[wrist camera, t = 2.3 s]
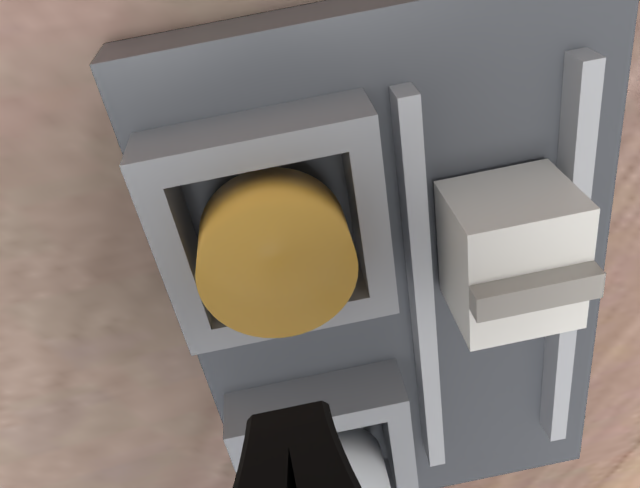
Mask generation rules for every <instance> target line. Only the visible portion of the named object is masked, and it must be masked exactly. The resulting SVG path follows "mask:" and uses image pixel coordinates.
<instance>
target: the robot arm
mask: <svg viewBox="0 0 640 488" xmlns="http://www.w3.org/2000/svg"><path fill="white" fill-rule="evenodd" d="M233 488H362V487H361V485H360V483H359V481H358V479H357V477H356V475H355V473H354V471H353V469H352V467H351V465H350V462H349V460H348V458H347V456H346V453H345V451H344V449H343V446H342V444H341V441H340V439H339V436H338V434H337V431H336V428H335V425H334V422H333V418H332V415H331V410H330V406H329V404H328V403H326V402H324V401H322V400H321V401H316V402H311V403H307V404H302V405H297V406H292V407H287V408H282V409H278V410H273V411H268V412H263V413H258V414H253V415H251V417H250V418H249V419H248V420H247V423H246V430H245V437H244V442H243V447H242V452H241V457H240V461H239V466H238V470H237V474H236V478H235V482H234V485H233Z"/></svg>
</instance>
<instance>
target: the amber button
mask: <svg viewBox="0 0 640 488" xmlns="http://www.w3.org/2000/svg"><path fill="white" fill-rule="evenodd" d="M357 278H358V259H357V254H356V251H355V247H354V244H353V241H352V238H351V235H350V232H349V228H348V225H347V222H346V219H345V216H344V213H343V210H342V207H341V205H340V203H339V201H338V200H337V198H336V196H335V195H334V194H333V193H332V191H331V190H330V189H329V188H328V187H327V186H326V185H325V184H323V183H322V182H321V181H319V180H318V179H316V178H315V177H313V176H311V175H309V174H306V173H304V172H301V171H298V170H294V169H289V168H281V167H271V168H266V169H261V170H256V171H250V172H245V173H243V174H240V175H238V176H236V177H234V178H232V179H231V180H229V181H228V182H226V183H225V184H224V185H222V186H221V187H220V188H219V189H218V190H217V191H216V192H215V193H214V194H213V195H212V197H211V198H210V199H209V201H208V202H207V204H206V206H205V208H204V210H203V213H202V215H201V219H200V224H199V235H198V247H197V259H196V271H195V279H196V286H197V290H198V293H199V296H200V298H201V300H202V302H203V304H204V305H205V307H206V308H207V309H208V311H209V312H210V313H211V314H212V315H213V316H214V317H215V318H216V319H217V320H218V321H220V322H221V323H223V324H224V325H226V326H227V327H229V328H231V329H233V330H235V331H238V332H240V333H243V334H246V335H250V336H254V337H261V338H285V337H291V336H296V335H300V334H303V333H306V332H309V331H311V330H314V329H316V328H318V327H320V326H321V325H323V324H325V323H326V322H328V321H329V320H330V319H332V318H333V317H334V316H335V315H337V314H338V313H339V312H340V311H341V310H342V308H343V307H344V306H345V305H346V303H347V302H348V300H349V299H350V297H351V295H352V293H353V291H354V289H355V286H356V282H357Z"/></svg>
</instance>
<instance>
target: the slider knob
mask: <svg viewBox="0 0 640 488" xmlns="http://www.w3.org/2000/svg"><path fill="white" fill-rule="evenodd" d="M434 197H435V214H436V231H437V248H438V265H439V282H440V290H441V292H442V294H443V296H444V298H445V300H446V302H447V304H448V307H449V309H450V311H451V313H452V315H453V317H454V319H455V321H456V323H457V325H458V327H459V329H460V331H461V333H462V335H463V338H464V340H465V342H466V344H467V346H468V348H469V350H470V352H472V351H477V350H481V349H486V348H491V347H496V346H501V345H506V344H511V343H515V342H520V341H525V340H530V339H535V338H540V337H545V336H549V335H554V334H559V333H564V332H569V331H574V330H579V329H583V328H586V326H587V318H588V309H589V301H590V300H593V299H598V298H603V293H604V285H605V278H606V273H605V272H604V271H603V270H602V268H601V267H600V266H599V265H598V264H597V263H596V262H595V261H594V258H595V250H596V241H597V233H598V224H599V216H600V208H599V207H598V206H597V205H596V204H595V203H594V202H593V201H592V200H591V199H590V198H589V197H588V196H586V195H585V194H584V193H583V192H582V191H581V190H580V189H579V188H578V187H577V186H576V185H575V184H574V183H573V182H572V181H571V180H570V179H569V178H568V177H567V176H566V175H564V174H563V173H562V172H561V171H560V170H559V169H558V168H557V167H556V166H555V165H554V164H553V163H552V162H551V161H550V160H549V159H548V158H547V159H542V160H537V161H532V162H527V163H522V164H517V165H512V166H507V167H502V168H497V169H492V170H487V171H482V172H477V173H472V174H468V175H463V176H458V177H453V178H448V179H443V180H438V181H434Z"/></svg>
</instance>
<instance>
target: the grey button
mask: <svg viewBox="0 0 640 488" xmlns="http://www.w3.org/2000/svg"><path fill="white" fill-rule="evenodd" d="M337 434H338V436H339V439H340V441H341V444H342V446H343V449H344V451H345V453H346V456H347V458H348V460H349V462H350V465H351V467H352V469H353V471H354V473H355V475H356V477H357V479H358V481H359V483H360V485H361V487H362V488H391V486H390V482H389V478H388V474H387V470H386V466H385V462H384V459H383V455H382V451H381V447H380V444H379V442H378V441H377V439H376V438H375V437H374V436H373V435H372V434H371V433H369V432H368V431H366V430H364V429H362V428H356V429H351V430H347V431H342V432H337Z"/></svg>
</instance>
